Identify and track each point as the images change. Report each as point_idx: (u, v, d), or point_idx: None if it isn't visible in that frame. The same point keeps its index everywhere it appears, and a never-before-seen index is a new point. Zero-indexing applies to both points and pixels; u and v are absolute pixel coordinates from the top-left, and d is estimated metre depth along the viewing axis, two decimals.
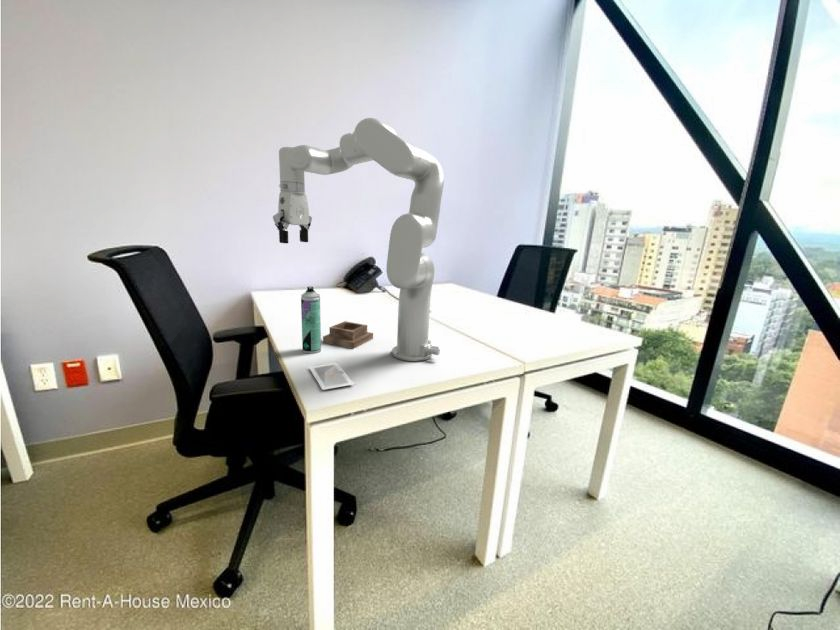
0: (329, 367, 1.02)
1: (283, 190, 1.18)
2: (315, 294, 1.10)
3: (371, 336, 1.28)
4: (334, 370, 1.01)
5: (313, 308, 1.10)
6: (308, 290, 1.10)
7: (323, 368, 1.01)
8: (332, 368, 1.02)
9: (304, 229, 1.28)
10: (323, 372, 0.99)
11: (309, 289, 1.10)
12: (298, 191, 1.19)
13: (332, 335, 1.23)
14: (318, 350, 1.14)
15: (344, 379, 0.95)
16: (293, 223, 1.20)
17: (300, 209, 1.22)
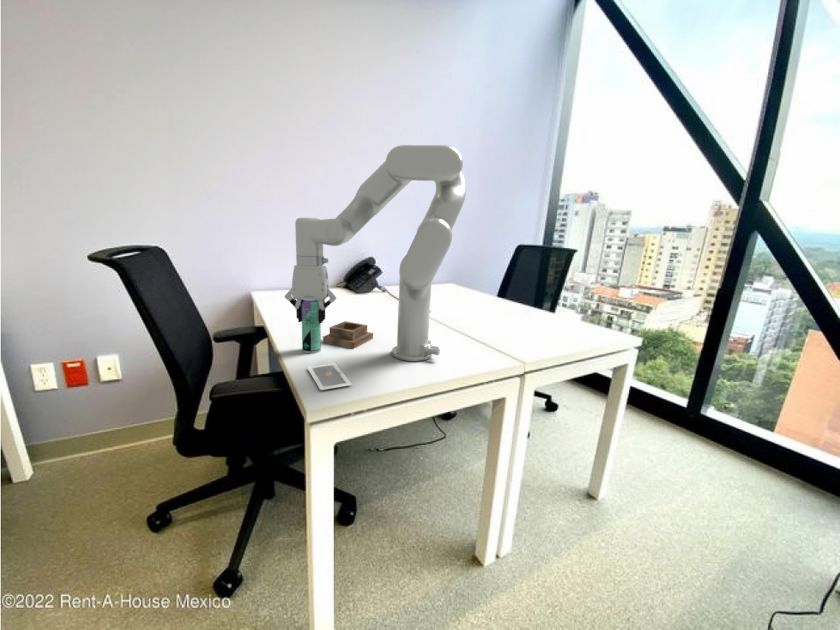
0: (327, 367, 1.02)
1: (322, 265, 1.09)
2: None
3: (371, 336, 1.28)
4: (332, 370, 1.00)
5: (313, 308, 1.10)
6: None
7: (322, 368, 1.01)
8: (330, 368, 1.01)
9: None
10: (321, 372, 0.99)
11: None
12: None
13: (332, 335, 1.23)
14: (318, 350, 1.14)
15: (342, 380, 0.95)
16: None
17: None
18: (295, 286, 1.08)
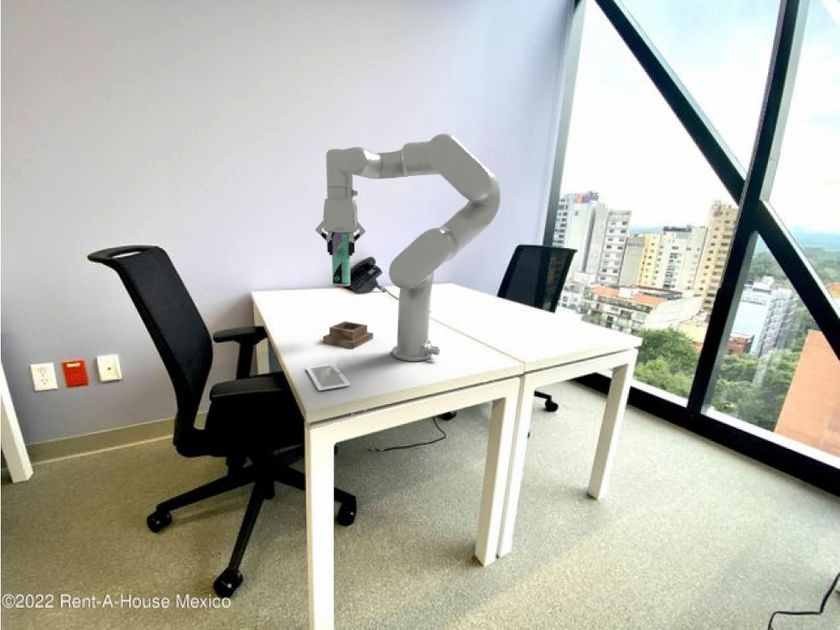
0: (326, 367, 1.02)
1: (352, 197, 1.12)
2: None
3: (371, 336, 1.28)
4: (331, 370, 1.00)
5: (344, 240, 1.13)
6: None
7: (321, 368, 1.01)
8: (329, 368, 1.01)
9: (331, 240, 1.16)
10: (320, 372, 0.98)
11: None
12: None
13: (332, 335, 1.23)
14: (348, 283, 1.18)
15: (341, 380, 0.95)
16: None
17: None
18: (326, 218, 1.11)
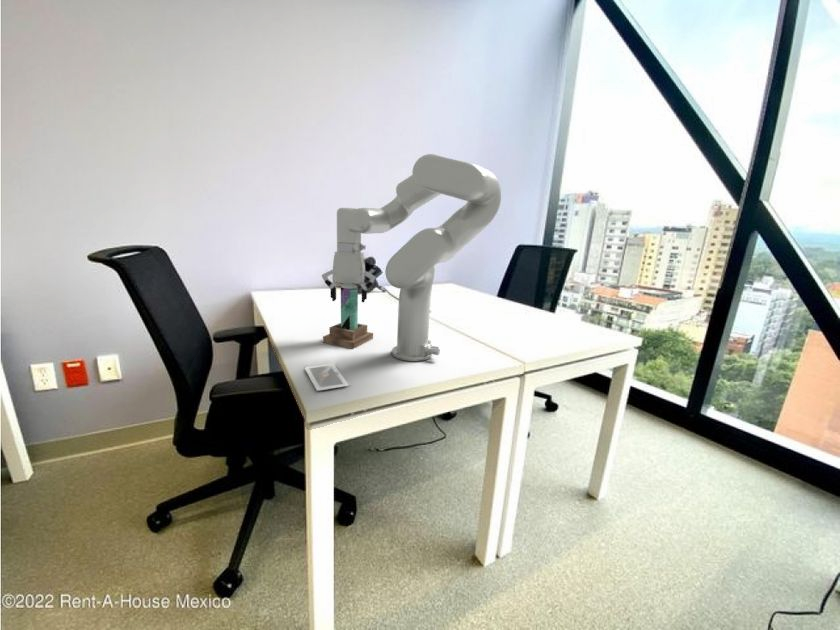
0: (325, 368, 1.02)
1: (360, 251, 1.19)
2: None
3: (371, 336, 1.28)
4: (329, 370, 1.00)
5: (352, 295, 1.20)
6: None
7: (319, 369, 1.01)
8: (327, 369, 1.01)
9: (334, 287, 1.22)
10: (318, 373, 0.98)
11: None
12: None
13: (332, 335, 1.23)
14: None
15: (339, 380, 0.94)
16: None
17: None
18: (335, 270, 1.18)
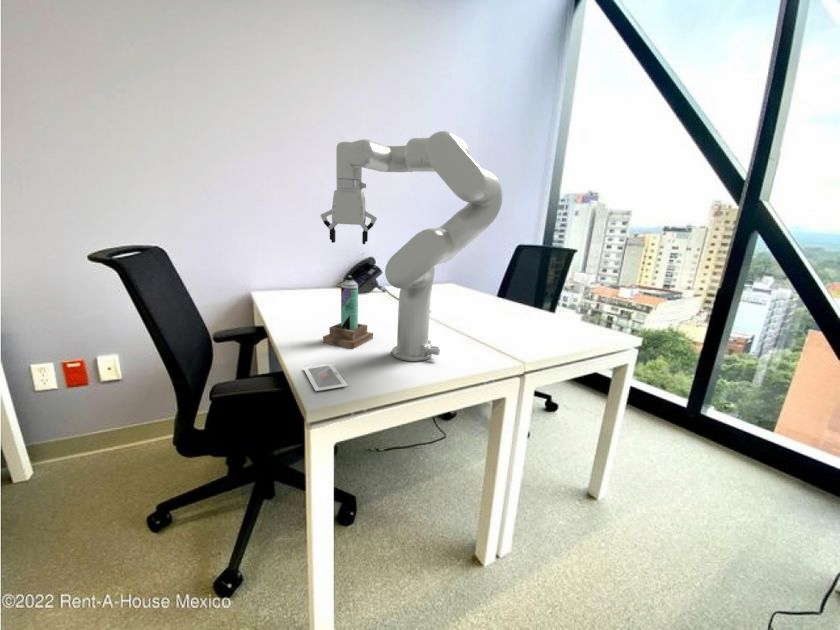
0: (324, 368, 1.01)
1: (361, 189, 1.14)
2: (354, 282, 1.21)
3: (371, 336, 1.28)
4: (328, 371, 1.00)
5: (352, 295, 1.20)
6: (348, 279, 1.20)
7: (318, 369, 1.01)
8: (326, 369, 1.01)
9: None
10: (317, 373, 0.98)
11: (349, 278, 1.20)
12: None
13: (332, 335, 1.23)
14: None
15: (338, 381, 0.94)
16: None
17: None
18: (335, 209, 1.14)
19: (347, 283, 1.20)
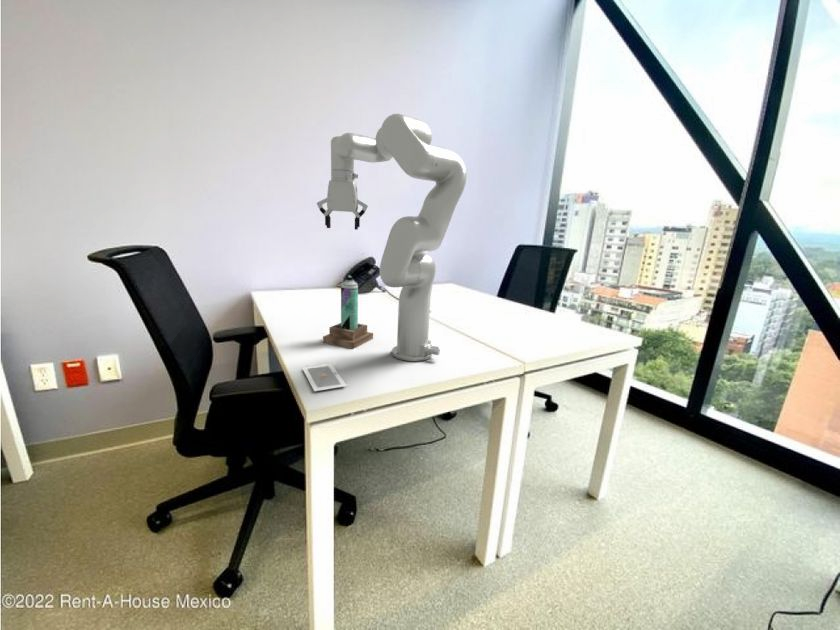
0: (323, 368, 1.01)
1: (353, 179, 1.27)
2: (354, 282, 1.21)
3: (371, 336, 1.28)
4: (327, 371, 1.00)
5: (352, 295, 1.20)
6: (348, 279, 1.20)
7: (317, 369, 1.00)
8: (325, 369, 1.01)
9: (329, 215, 1.30)
10: (316, 373, 0.98)
11: (349, 278, 1.20)
12: None
13: (332, 335, 1.23)
14: None
15: (337, 381, 0.94)
16: None
17: None
18: (330, 197, 1.26)
19: (347, 283, 1.20)
